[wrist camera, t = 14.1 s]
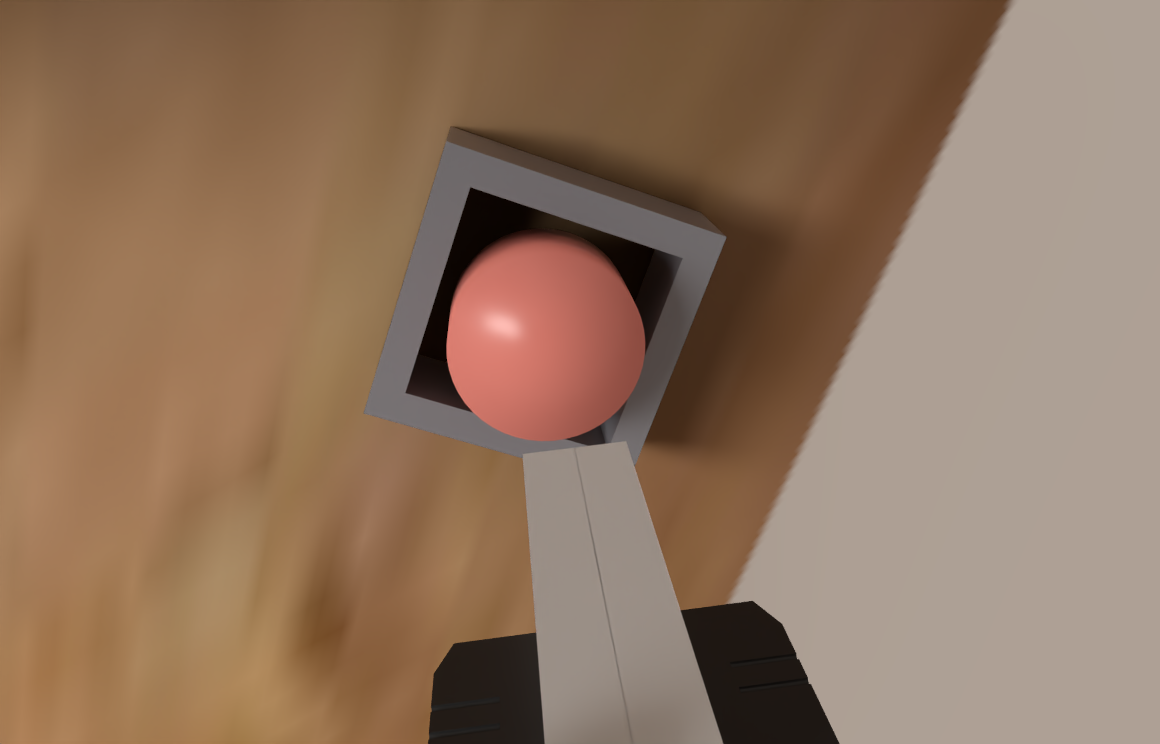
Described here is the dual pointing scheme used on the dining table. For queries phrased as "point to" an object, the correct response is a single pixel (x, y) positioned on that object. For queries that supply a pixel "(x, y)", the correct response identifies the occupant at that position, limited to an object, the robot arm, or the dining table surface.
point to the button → (544, 336)
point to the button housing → (675, 232)
